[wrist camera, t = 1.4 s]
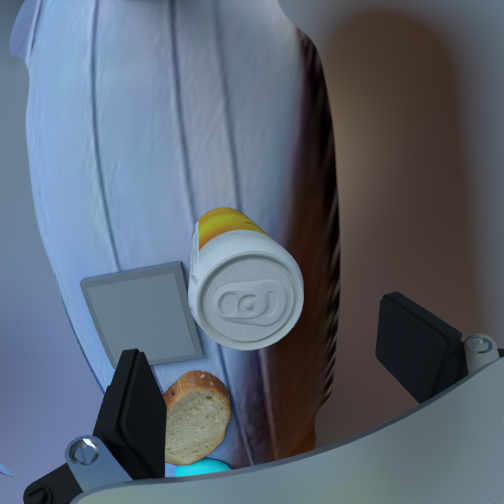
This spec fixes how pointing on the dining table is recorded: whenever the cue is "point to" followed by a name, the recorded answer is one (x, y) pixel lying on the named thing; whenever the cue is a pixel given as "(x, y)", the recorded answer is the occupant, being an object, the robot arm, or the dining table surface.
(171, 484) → the robot arm
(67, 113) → the dining table surface
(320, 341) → the dining table surface
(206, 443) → the bread slice
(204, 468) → the donuts
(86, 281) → the slate coaster
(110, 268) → the dining table surface
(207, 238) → the beer can
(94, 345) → the dining table surface
